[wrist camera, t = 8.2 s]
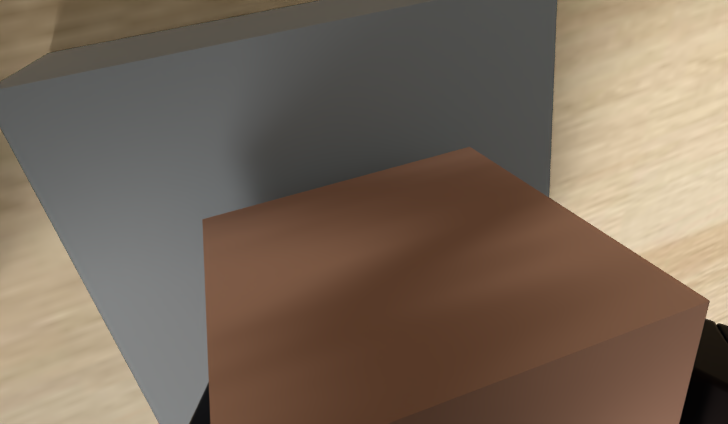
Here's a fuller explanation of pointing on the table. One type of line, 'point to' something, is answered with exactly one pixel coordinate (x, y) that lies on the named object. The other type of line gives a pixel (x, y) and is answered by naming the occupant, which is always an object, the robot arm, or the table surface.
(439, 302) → the terracotta cube
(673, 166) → the table surface
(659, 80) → the table surface
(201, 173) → the slate block
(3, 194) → the table surface
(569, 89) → the table surface
